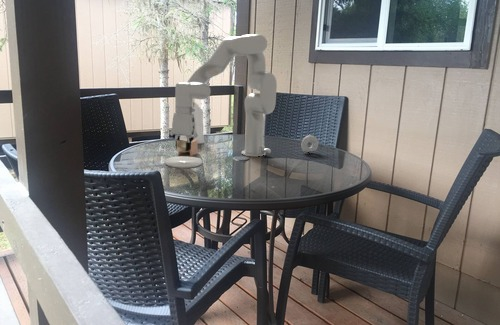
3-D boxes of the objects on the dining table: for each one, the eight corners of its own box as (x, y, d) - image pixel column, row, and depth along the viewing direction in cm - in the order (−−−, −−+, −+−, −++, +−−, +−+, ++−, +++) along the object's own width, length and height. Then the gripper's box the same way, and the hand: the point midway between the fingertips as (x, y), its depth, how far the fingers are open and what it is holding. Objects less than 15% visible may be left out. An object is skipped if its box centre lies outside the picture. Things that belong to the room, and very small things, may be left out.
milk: (177, 140, 246) (177, 95, 240) (196, 139, 251) (196, 95, 245) (184, 144, 236) (184, 98, 229) (203, 143, 241) (204, 97, 235)
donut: (315, 152, 229) (316, 134, 227) (318, 153, 226) (320, 135, 224) (299, 153, 226) (300, 134, 223) (302, 154, 222) (303, 136, 220)
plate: (208, 161, 200) (208, 158, 199) (191, 169, 184) (191, 166, 184) (176, 157, 205) (176, 154, 205) (158, 164, 189) (158, 162, 189)
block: (189, 150, 194) (189, 140, 193) (185, 152, 190) (185, 141, 189) (181, 149, 196) (181, 139, 194) (176, 151, 192) (176, 140, 190)
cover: (197, 153, 215) (197, 140, 213) (191, 156, 208) (191, 142, 207) (184, 151, 217) (184, 138, 215) (178, 154, 210) (178, 141, 209)
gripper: (204, 111, 189) (203, 150, 194) (171, 108, 195) (171, 146, 199) (196, 112, 182) (196, 153, 187) (163, 109, 188) (163, 149, 192)
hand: (183, 149), depth 193 cm, fingers closed on block, 4 cm apart
